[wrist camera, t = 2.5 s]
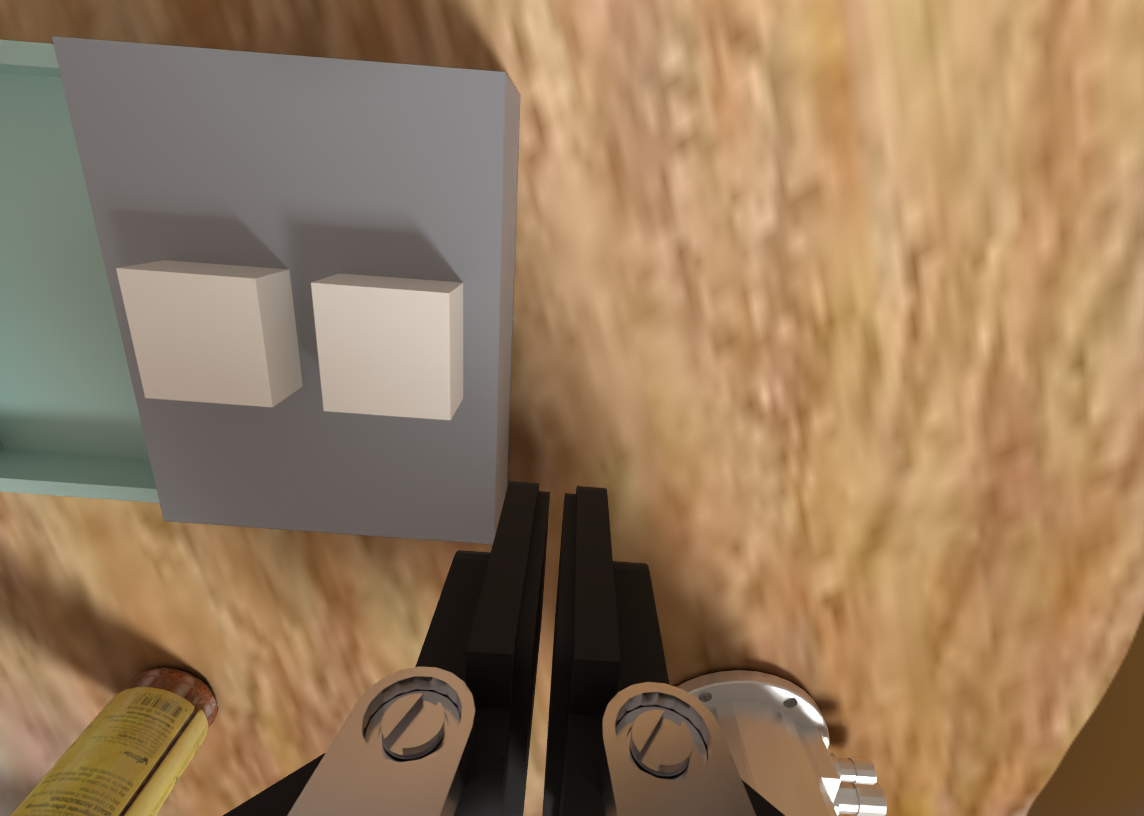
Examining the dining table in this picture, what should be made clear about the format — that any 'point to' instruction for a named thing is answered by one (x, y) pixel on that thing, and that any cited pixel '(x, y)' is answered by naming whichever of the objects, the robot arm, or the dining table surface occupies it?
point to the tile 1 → (212, 332)
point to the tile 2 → (389, 345)
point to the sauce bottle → (129, 750)
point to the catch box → (57, 307)
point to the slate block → (312, 264)
